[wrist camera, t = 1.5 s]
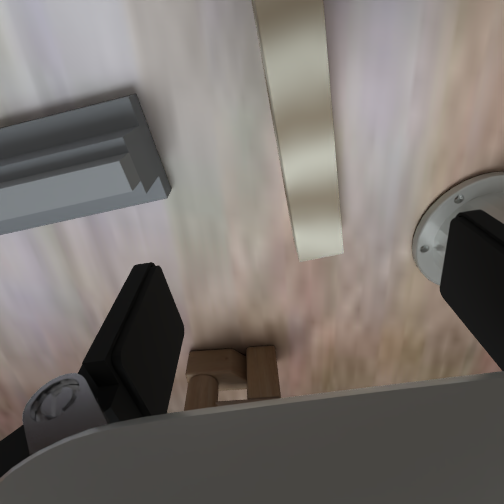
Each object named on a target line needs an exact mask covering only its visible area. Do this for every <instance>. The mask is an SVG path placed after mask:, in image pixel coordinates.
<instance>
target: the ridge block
mask: <svg viewBox="0 0 504 504" xmlns="http://www.w3.org/2000/svg"><path fill="white" fill-rule="evenodd" d="M170 192H171V187H170V184H169V182H168V179H167V176H166V174H165V171H164V168H163V165H162V163H161V160H160V157H159V155H158V152H157V149H156V146H155V144H154V141H153V138H152V136H151V133H150V130H149V128H148V125H147V122H146V119H145V117H144V114H143V111H142V109H141V106H140V103H139V100H138V98H137V95H136V94H133V95H129V96H125V97H121V98H117V99H114V100H110V101H106V102H102V103H98V104H94V105H90V106H86V107H82V108H78V109H74V110H70V111H66V112H62V113H58V114H54V115H50V116H46V117H42V118H38V119H34V120H30V121H27V122H23V123H19V124H15V125H11V126H7V127H3V128H0V235H3V234H7V233H12V232H16V231H21V230H25V229H30V228H34V227H39V226H43V225H48V224H52V223H57V222H62V221H66V220H71V219H75V218H80V217H84V216H89V215H93V214H98V213H102V212H107V211H111V210H116V209H121V208H125V207H130V206H134V205H139V204H143V203H148V202H152V201H157V200H161V199H166V198H168V196H169V194H170Z"/></svg>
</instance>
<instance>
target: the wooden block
mask: <svg viewBox="0 0 504 504" xmlns="http://www.w3.org/2000/svg"><path fill="white" fill-rule="evenodd" d="M246 354H247V357H246V356H244V355H242V354H240V353H238V352H237V351H235V350H233V349H218V350H204V351H191V352H190V353H189V357H188V363H187V369H186V378H187V382H188V389H187V395H186V401H185V407H184V411H188V410H195V409H202V408H209V407H217V406H225V405H233V404H240V403H248V402H256V401H264V400H271V399H279V398H281V394H280V386H279V377H278V368H277V360H276V351H275V347H274V346H257V347H248V348H247V350H246ZM239 389H247V399H248V400H234V401H219V402H218V391H225V390H239Z"/></svg>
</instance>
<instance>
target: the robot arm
mask: <svg viewBox="0 0 504 504" xmlns="http://www.w3.org/2000/svg"><path fill="white" fill-rule="evenodd" d="M412 252H413V258H414V261H415V263H416V266H417V267H418V268H419V270H420V271H421V272H422V274H423V275H424V276H425V277H426V278H427V279H428V280H430V281H432V282H433V283H435V284H437V285H440V292H441V295H442V297H443V298H444V300H445V301H446V302H447V303H448V305H449V306H450V307H451V308H452V309H453V311H454V312H455V313H456V314H457V316H458V317H459V318H460V319H461V320H462V322H463V323H464V324H465V325H466V327H467V328H468V329H469V330H470V332H471V333H472V334H473V335H474V336H475V338H476V339H477V340H478V341H479V343H480V344H481V345H482V346H483V347H484V349H485V350H486V351H487V352H488V354H489V355H490V356H491V357H492V359H493V360H494V361H495V362H496V363H497V365H498V366H499V367H500V368H501V370H502V371H501V372H493V373H484V374H476V375H467V376H459V377H450V378H442V379H433V380H425V381H416V382H408V383H400V384H392V385H384V386H375V387H367V388H359V389H351V390H343V391H335V392H327V393H319V394H311V395H303V396H295V397H287V398H279V399H271V400H264V401H256V402H248V403H240V404H233V405H225V406H217V407H209V408H202V409H195V410H188V411H181V412H174V413H167V409H168V405H169V400H170V396H171V391H172V387H173V382H174V378H175V373H176V369H177V364H178V360H179V355H180V351H181V346H182V342H183V337H184V325H183V322H182V319H181V317H180V314H179V312H178V309H177V307H176V304H175V302H174V299H173V297H172V294H171V292H170V289H169V287H168V284H167V282H166V279H165V277H164V274H163V272H162V269H161V267H160V266H155V264H154V263H152V262H151V263H144V264H138V265H135V266H134V267H133V268H132V270H131V272H130V274H129V276H128V278H127V280H126V282H125V283H124V285H123V287H122V289H121V291H120V293H119V295H118V297H117V298H116V300H115V302H114V304H113V306H112V308H111V310H110V312H109V313H108V315H107V317H106V319H105V321H104V323H103V325H102V327H101V328H100V330H99V332H98V334H97V336H96V338H95V340H94V342H93V343H92V345H91V347H90V349H89V351H88V353H87V355H86V357H85V358H84V360H83V362H82V366H81V368H80V370H79V372H78V374H76V373H71V374H65V375H62V376H59V377H57V378H55V379H53V380H51V381H49V382H48V383H46V384H45V385H44V386H42V387H41V388H40V389H39V390H38V391H37V392H36V393H35V394H34V395H33V396H32V397H31V399H30V400H29V401H28V403H27V404H26V406H25V409H24V411H23V425H22V426H21V427H19V428H18V429H17V430H15V431H14V432H13V433H11V434H10V435H8V436H7V437H6V438H4V439H3V440H1V441H0V504H504V172H492V173H488V174H483V175H479V176H476V177H474V178H471V179H468V180H466V181H464V182H462V183H460V184H459V185H457V186H455V187H453V188H452V189H450V190H449V191H448V192H446V193H445V194H444V195H442V196H441V197H440V198H439V199H438V200H437V201H436V202H435V203H434V204H433V205H432V206H431V207H430V208H429V209H428V211H427V212H426V213H425V215H424V216H423V217H422V219H421V221H420V223H419V225H418V226H417V229H416V232H415V235H414V238H413V245H412Z"/></svg>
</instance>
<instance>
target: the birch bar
mask: <svg viewBox="0 0 504 504" xmlns="http://www.w3.org/2000/svg"><path fill="white" fill-rule="evenodd" d="M252 6H253V11H254V17H255V23H256V29H257V34H258V40H259V46H260V51H261V57H262V63H263V69H264V74H265V80H266V86H267V91H268V97H269V103H270V109H271V114H272V120H273V126H274V131H275V137H276V143H277V149H278V154H279V160H280V166H281V171H282V177H283V183H284V188H285V194H286V200H287V206H288V211H289V217H290V223H291V228H292V234H293V240H294V244H295V248H296V251H297V255H298V258H299V262H302V261H307V260H312V259H317V258H322V257H328V256H333V255H338V254H343V253H344V252H343V240H342V227H341V215H340V203H339V190H338V178H337V166H336V153H335V141H334V129H333V116H332V104H331V92H330V79H329V67H328V55H327V43H326V30H325V18H324V6H323V0H252Z"/></svg>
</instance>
